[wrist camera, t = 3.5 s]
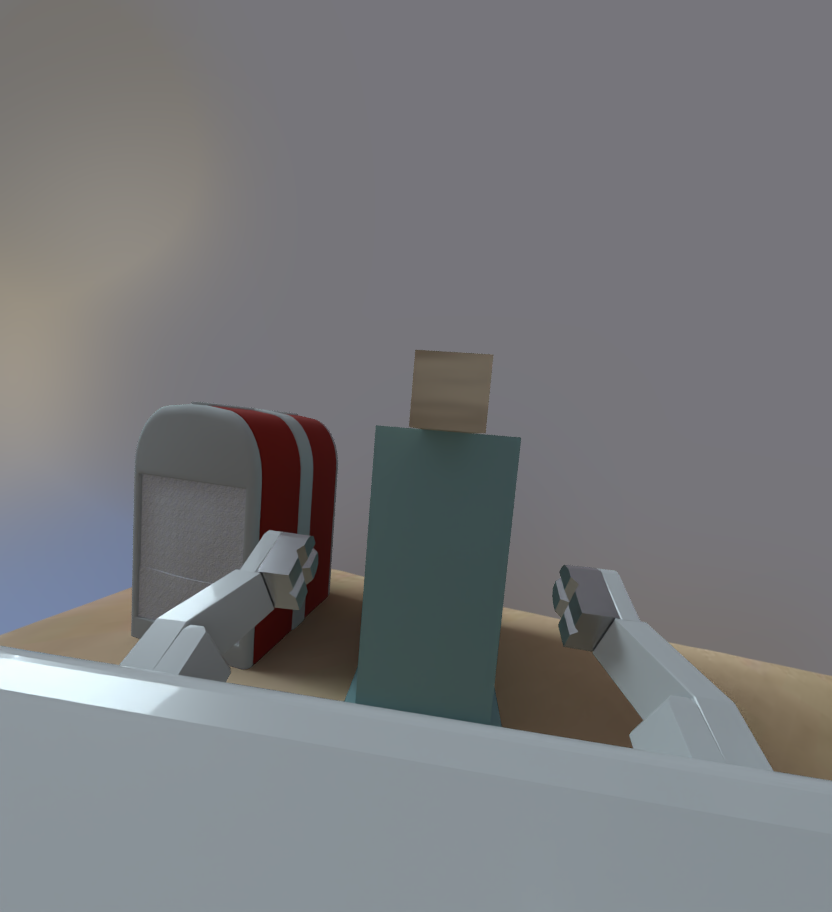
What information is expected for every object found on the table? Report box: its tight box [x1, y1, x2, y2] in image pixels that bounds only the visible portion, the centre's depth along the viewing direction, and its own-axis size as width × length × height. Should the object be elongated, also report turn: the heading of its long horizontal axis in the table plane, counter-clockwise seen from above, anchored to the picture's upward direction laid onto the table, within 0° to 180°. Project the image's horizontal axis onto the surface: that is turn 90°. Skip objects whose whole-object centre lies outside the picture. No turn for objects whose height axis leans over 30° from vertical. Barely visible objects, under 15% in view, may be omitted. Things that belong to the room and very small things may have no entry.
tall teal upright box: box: [344, 426, 521, 727], centre depth 37 cm, size 20×14×26 cm
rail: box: [409, 350, 493, 433], centre depth 29 cm, size 24×4×4 cm, turn 175°
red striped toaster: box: [131, 402, 338, 669], centre depth 43 cm, size 16×18×27 cm
